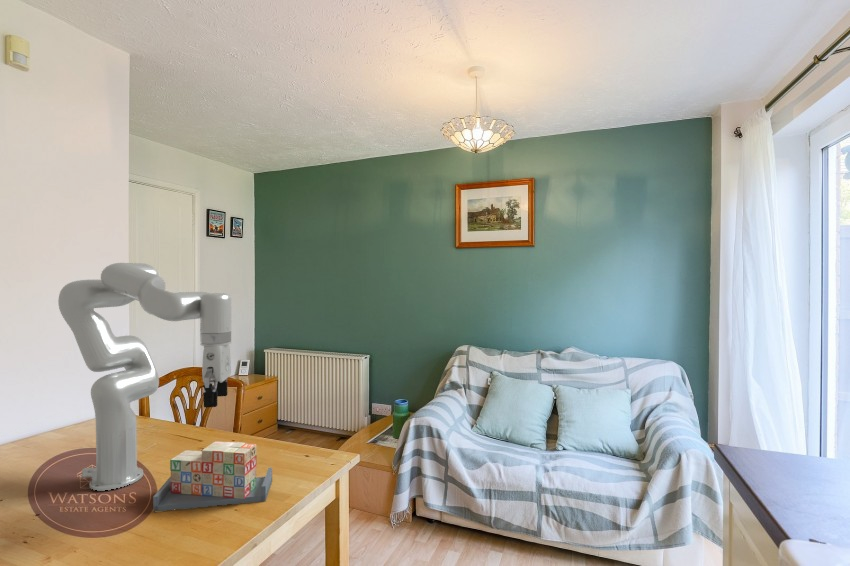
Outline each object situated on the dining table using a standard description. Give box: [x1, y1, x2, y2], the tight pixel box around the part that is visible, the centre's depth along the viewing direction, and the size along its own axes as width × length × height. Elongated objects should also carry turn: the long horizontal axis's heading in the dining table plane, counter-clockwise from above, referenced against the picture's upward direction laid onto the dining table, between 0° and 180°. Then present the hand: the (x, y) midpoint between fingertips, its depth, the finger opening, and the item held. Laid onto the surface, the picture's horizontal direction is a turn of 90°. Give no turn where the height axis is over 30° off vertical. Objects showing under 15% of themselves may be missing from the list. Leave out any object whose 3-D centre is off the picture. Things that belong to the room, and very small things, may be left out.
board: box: [152, 467, 273, 513], centre depth 113 cm, size 27×11×4 cm, turn 102°
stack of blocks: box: [169, 441, 258, 499], centre depth 113 cm, size 21×6×12 cm, turn 83°
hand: (216, 401), depth 113 cm, fingers open, 9 cm apart
